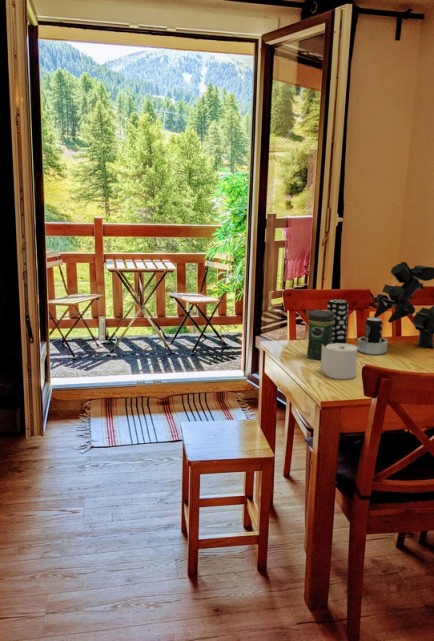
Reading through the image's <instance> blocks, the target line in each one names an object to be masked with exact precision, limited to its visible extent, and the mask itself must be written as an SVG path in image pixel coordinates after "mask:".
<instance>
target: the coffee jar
mask: <svg viewBox="0 0 434 641" xmlns="http://www.w3.org/2000/svg"><path fill="white" fill-rule="evenodd" d="M334 322H335V319H334V313H333V312H331V311H327V310H325V309H324V310H322V309H313V310H310V312H309V313H308V324H309V333H308V343H307V354H306V355H307V357H308V358H310V359H314V360H320V361H321V353H322V344H323V345H324V346H325V347H326V346H327V345H329V344H333V339H332V329H333V325H334Z"/></svg>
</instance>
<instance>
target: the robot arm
mask: <svg viewBox="0 0 434 641" xmlns="http://www.w3.org/2000/svg"><path fill="white" fill-rule="evenodd" d="M390 274H391V275H392V276H393V277H394V278H395V280H396V281H397V282H398V283H399V284H401V285H396V284H395V285H394V286H392V285H390V284H384V286H383V288H382V291H381V292H382V293H379V294H377V295H376V297H375V299H376V301H377V307H376V310H375V312H374V315H373V317H375V318H380V316H382V315H383V314H384V313H386V312H387V311H389V308H391V307H392V306H393V307H396V308H395V310H394V311H393V313H392V314H391V316H390V317H389V318H388V321H387V322H388V323H389V324H391V323H394V322H395V321H398V320H400V319H402V318H405V317H409V316H413V319H412V320H413V321H412V322H413V326H414V328H415V329H414V330H417V331H419V332H418V342H417V344H416V347H418V348H419V347H420V348H429V349H434V305H433V306H431V307H429V308H426V307H422V308H420V310H419V311H417V312H416V308H415V306H414V305H413V303H411V301H412V300H413V295H414V294H415V293H416V292H417V291H418V290H420V291H424V288H425V287H424V283H422V282H420V281H423V282H428V281H429V282H430V281H432V280H434V266H428V265H427V266H426V265H419V264H418V265H414V266H413V267H412V268H410V266H409V265H408V264H407V262H405V261H401V262H400V263H397V264H395V266H393V267H392V268H391V270H390ZM383 293H386V294H387V295H386V294H383Z"/></svg>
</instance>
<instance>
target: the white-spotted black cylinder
mask: <svg viewBox="0 0 434 641" xmlns="http://www.w3.org/2000/svg"><path fill="white" fill-rule="evenodd" d="M326 304H327V306H326V311H331V312H333V313H334V319H335V322H334V325H333V329H332V339H333V344H334V343H343V344H347V342H348V341H347V340H348V338H347V336H348V318H349V301H348V300H345V299H339V298H336V299H335V298H334V299H328V300H327V301H326Z"/></svg>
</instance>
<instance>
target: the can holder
mask: <svg viewBox="0 0 434 641" xmlns="http://www.w3.org/2000/svg"><path fill="white" fill-rule="evenodd" d="M364 339H365V336H361V337H358V338H357V349H358V350H357V353H360V354H362V355H367V356H385V355H387V354H388V339H386V338H385V337H382V341H381V343H369V342H364Z"/></svg>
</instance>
